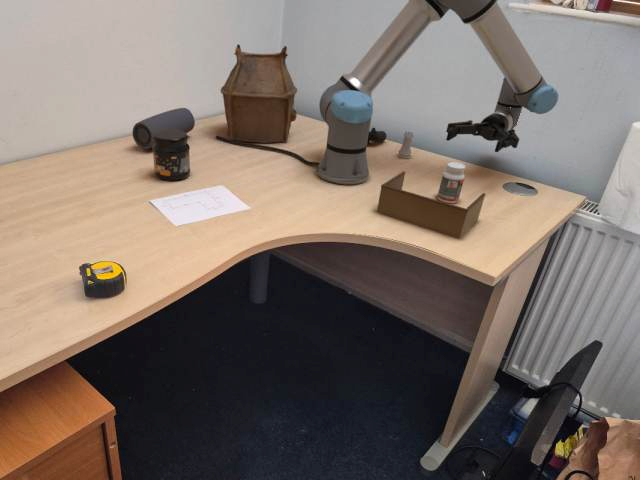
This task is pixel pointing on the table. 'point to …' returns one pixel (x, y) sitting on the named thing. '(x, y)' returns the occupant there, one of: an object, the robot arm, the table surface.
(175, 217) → the table surface
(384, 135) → the gaming controller
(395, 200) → the brown u-shaped partition wall
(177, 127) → the bluetooth speaker
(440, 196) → the pill bottle
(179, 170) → the supplement container
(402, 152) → the rook chess piece
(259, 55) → the hut
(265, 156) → the table surface
